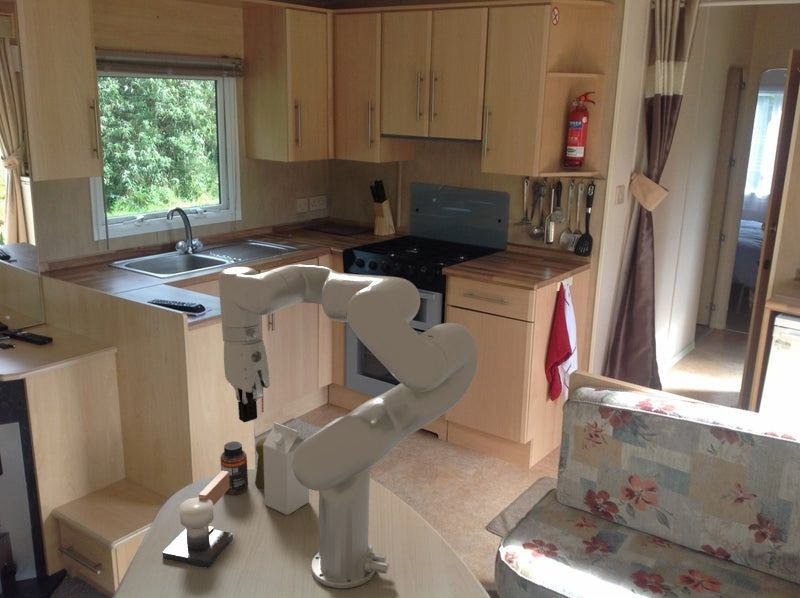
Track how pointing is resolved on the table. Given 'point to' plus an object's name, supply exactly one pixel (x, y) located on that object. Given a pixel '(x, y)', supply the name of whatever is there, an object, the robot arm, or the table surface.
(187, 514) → the orange bar with ball
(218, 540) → the coupling base
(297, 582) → the table surface
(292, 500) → the milk carton
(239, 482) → the supplement bottle
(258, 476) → the olive pear
